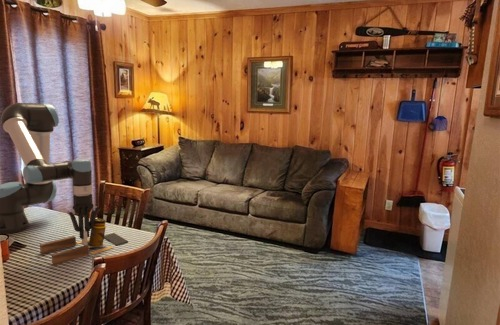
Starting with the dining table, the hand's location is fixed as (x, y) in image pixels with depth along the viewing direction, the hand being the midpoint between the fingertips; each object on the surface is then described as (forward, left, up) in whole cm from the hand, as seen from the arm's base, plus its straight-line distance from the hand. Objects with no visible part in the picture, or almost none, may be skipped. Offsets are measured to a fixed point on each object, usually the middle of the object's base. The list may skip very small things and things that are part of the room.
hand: (84, 244), depth 150 cm
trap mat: (-1, +15, -2) cm, 15 cm away
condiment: (-1, +4, -2) cm, 5 cm away
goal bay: (-1, +5, -2) cm, 5 cm away
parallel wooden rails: (-1, -8, -2) cm, 8 cm away
